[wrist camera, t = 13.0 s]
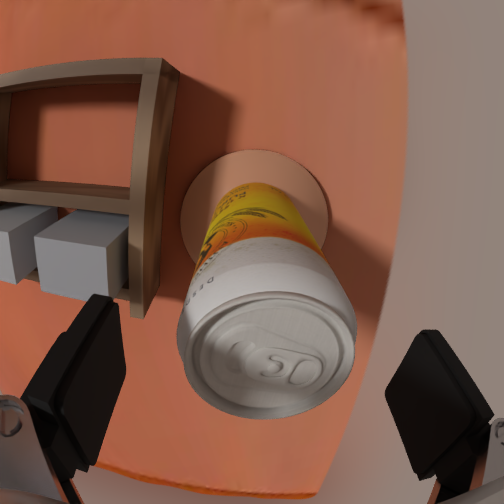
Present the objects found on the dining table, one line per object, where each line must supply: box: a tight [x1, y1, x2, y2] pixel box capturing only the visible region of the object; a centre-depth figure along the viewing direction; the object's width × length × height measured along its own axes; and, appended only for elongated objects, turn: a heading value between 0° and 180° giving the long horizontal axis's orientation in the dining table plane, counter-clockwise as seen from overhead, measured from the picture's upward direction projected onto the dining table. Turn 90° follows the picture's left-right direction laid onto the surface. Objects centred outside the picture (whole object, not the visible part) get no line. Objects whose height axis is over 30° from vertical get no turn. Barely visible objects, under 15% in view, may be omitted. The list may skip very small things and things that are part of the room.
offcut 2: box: [34, 209, 129, 301], centre depth 20 cm, size 4×6×7 cm
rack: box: [0, 58, 180, 319], centre depth 19 cm, size 17×17×5 cm
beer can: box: [177, 182, 357, 419], centre depth 16 cm, size 6×6×15 cm
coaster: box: [180, 149, 328, 264], centre depth 23 cm, size 11×11×1 cm
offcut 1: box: [0, 202, 58, 285], centre depth 20 cm, size 4×6×7 cm
